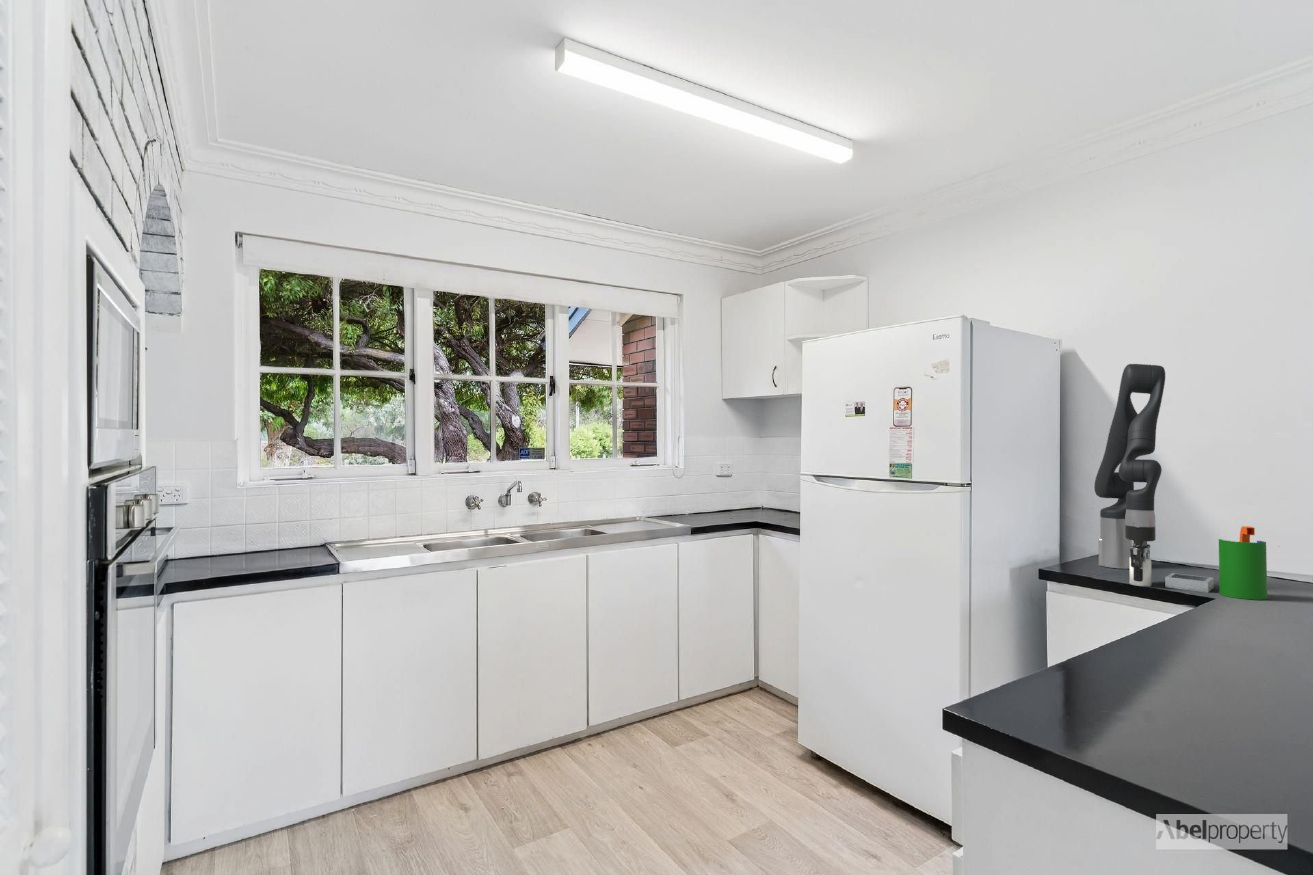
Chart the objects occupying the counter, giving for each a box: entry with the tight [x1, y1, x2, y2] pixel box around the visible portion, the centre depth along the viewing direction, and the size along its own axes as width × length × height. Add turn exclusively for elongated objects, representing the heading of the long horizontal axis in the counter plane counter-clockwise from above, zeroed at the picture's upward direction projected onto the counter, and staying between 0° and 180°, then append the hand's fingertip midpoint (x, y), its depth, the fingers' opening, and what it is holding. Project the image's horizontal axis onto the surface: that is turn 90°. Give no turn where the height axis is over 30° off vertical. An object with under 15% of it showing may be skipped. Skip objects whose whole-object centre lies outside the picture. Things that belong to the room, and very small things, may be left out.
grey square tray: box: [1164, 572, 1215, 593], centre depth 201 cm, size 10×10×3 cm
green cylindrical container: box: [1218, 525, 1268, 601], centre depth 189 cm, size 10×9×20 cm
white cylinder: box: [1129, 557, 1152, 587], centre depth 205 cm, size 5×5×9 cm
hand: (1140, 579), depth 205 cm, fingers closed on white cylinder, 5 cm apart
